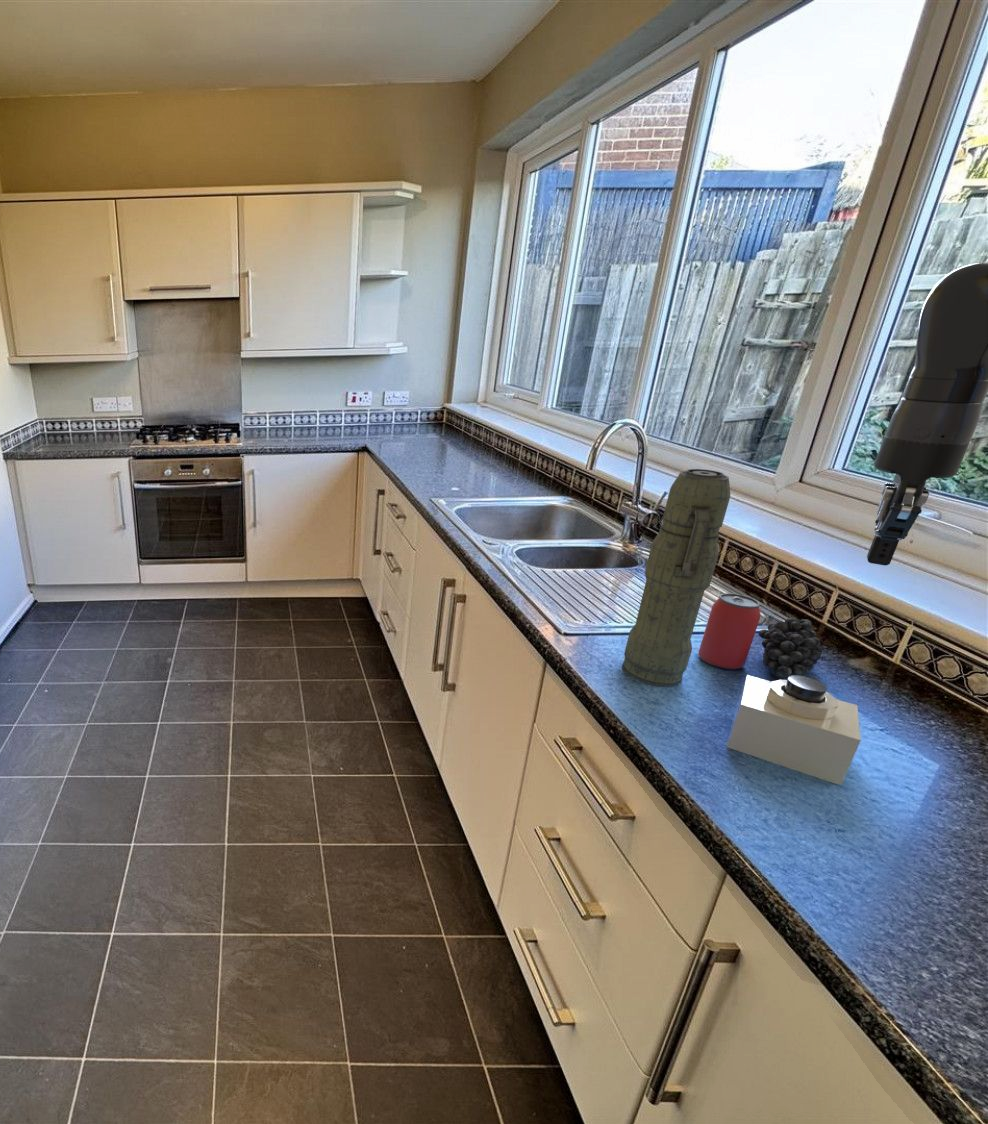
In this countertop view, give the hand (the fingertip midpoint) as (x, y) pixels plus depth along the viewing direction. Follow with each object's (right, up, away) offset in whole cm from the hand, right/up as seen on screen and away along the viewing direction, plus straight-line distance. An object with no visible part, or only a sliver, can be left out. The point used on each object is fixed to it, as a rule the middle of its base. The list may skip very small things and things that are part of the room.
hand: (877, 562), depth 85 cm
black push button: (-11, -18, -1) cm, 22 cm away
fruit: (+5, -19, +21) cm, 29 cm away
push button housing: (-11, -26, +2) cm, 29 cm away
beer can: (-3, -18, +24) cm, 30 cm away
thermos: (-17, -19, +21) cm, 33 cm away
